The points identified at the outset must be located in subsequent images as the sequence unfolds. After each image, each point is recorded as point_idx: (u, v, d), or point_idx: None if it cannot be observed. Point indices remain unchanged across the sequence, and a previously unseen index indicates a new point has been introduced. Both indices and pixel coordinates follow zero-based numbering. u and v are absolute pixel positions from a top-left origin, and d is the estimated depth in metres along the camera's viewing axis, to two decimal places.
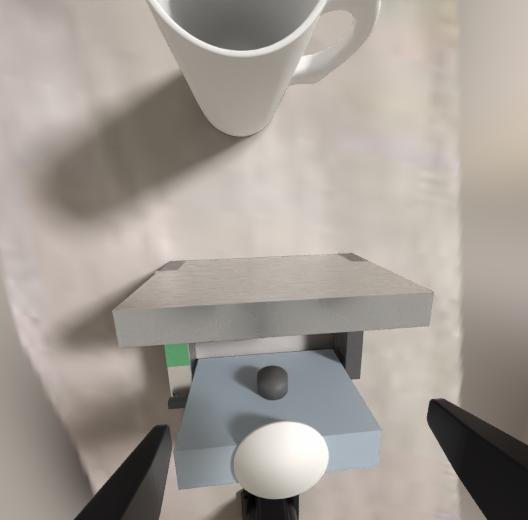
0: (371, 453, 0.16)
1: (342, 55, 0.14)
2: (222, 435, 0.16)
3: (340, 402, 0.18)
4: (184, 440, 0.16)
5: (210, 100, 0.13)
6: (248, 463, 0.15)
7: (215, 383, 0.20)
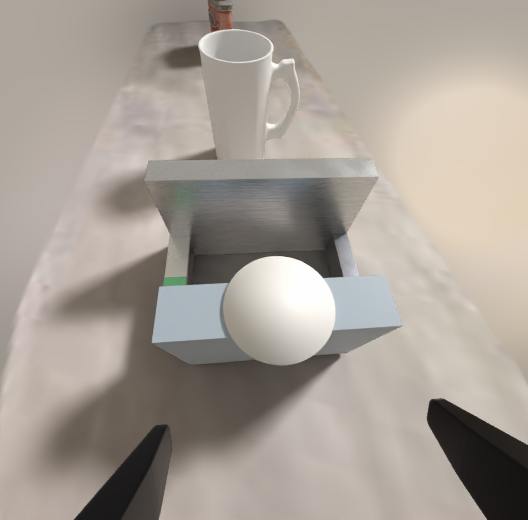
0: (386, 305, 0.14)
1: (290, 112, 0.28)
2: None
3: None
4: None
5: (224, 119, 0.26)
6: (240, 302, 0.13)
7: None
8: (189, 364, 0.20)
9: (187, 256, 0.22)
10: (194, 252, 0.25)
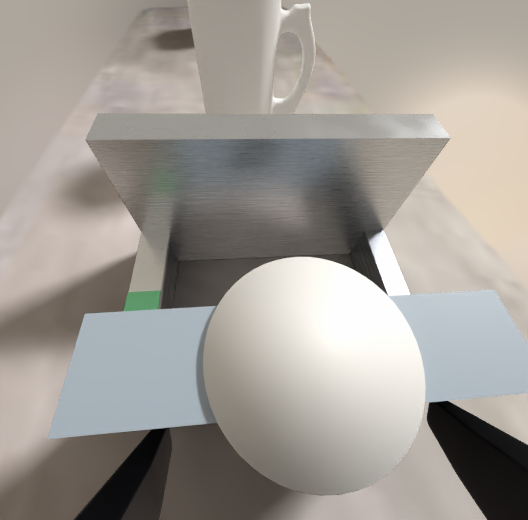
0: (512, 348, 0.07)
1: (302, 80, 0.22)
2: None
3: None
4: None
5: (218, 84, 0.20)
6: (237, 345, 0.07)
7: None
8: None
9: (164, 261, 0.15)
10: (177, 257, 0.19)
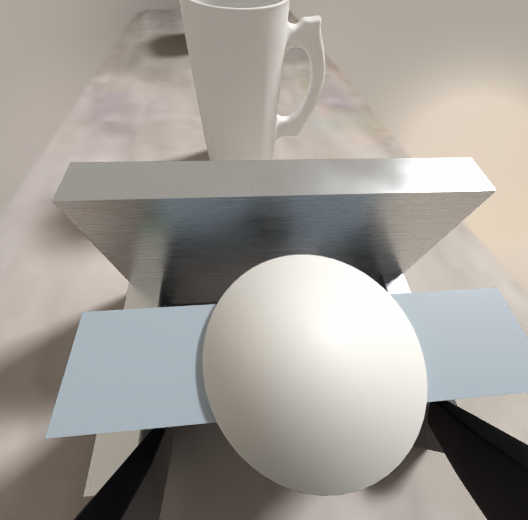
0: (515, 347, 0.07)
1: (310, 98, 0.20)
2: None
3: None
4: None
5: (217, 105, 0.18)
6: (237, 344, 0.07)
7: None
8: None
9: None
10: (172, 301, 0.17)
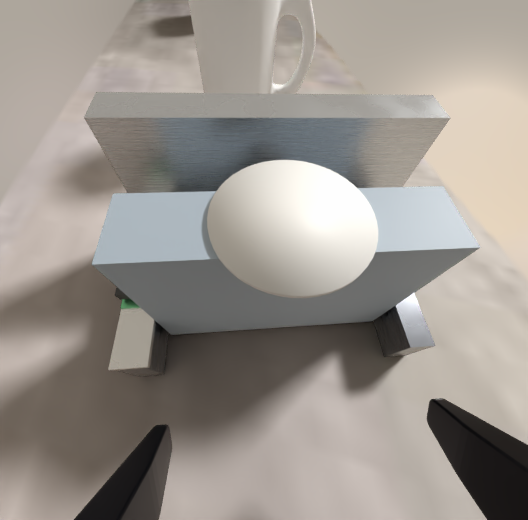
0: (451, 222, 0.09)
1: (302, 66, 0.22)
2: None
3: None
4: None
5: (217, 68, 0.20)
6: (233, 212, 0.09)
7: None
8: (170, 333, 0.15)
9: None
10: None
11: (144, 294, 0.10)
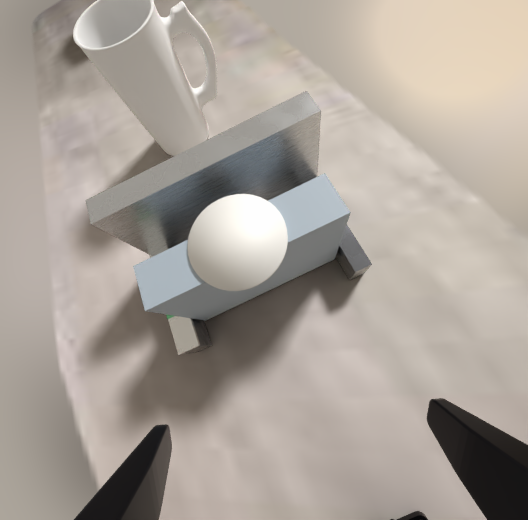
0: (332, 200, 0.14)
1: (210, 65, 0.24)
2: None
3: None
4: None
5: (145, 109, 0.23)
6: (202, 251, 0.15)
7: None
8: None
9: None
10: None
11: (177, 310, 0.17)
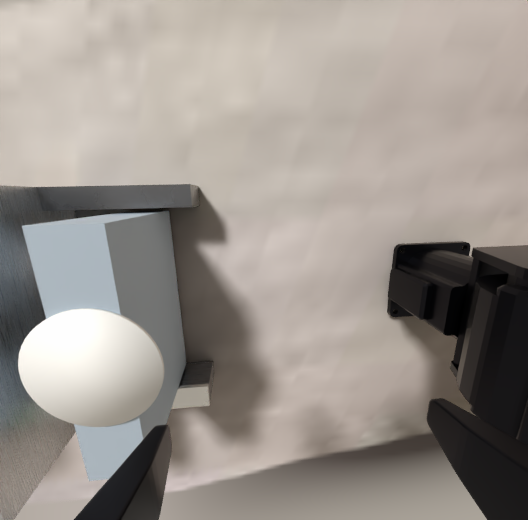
0: (76, 238, 0.10)
1: None
2: None
3: None
4: None
5: None
6: (96, 411, 0.12)
7: None
8: (185, 365, 0.21)
9: None
10: None
11: (162, 421, 0.15)
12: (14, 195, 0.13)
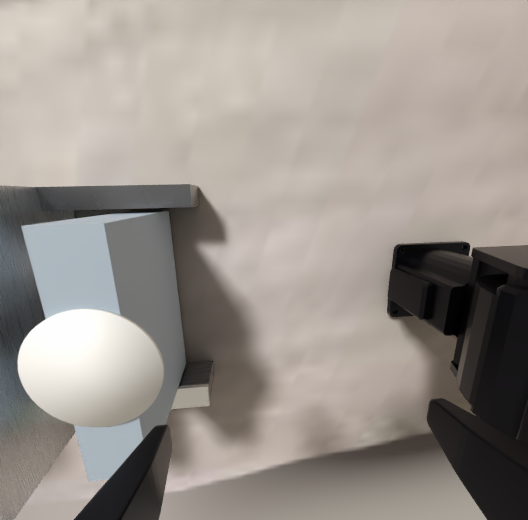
0: (75, 238, 0.10)
1: None
2: None
3: None
4: None
5: None
6: (96, 411, 0.12)
7: None
8: None
9: None
10: None
11: (162, 421, 0.15)
12: (13, 195, 0.13)
